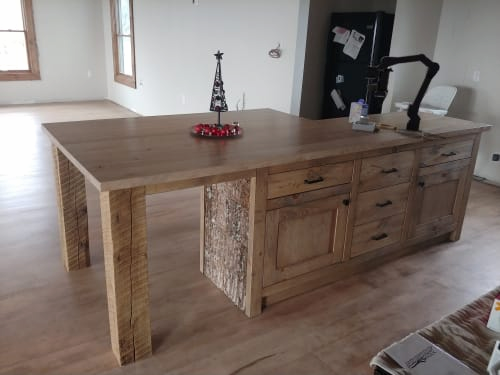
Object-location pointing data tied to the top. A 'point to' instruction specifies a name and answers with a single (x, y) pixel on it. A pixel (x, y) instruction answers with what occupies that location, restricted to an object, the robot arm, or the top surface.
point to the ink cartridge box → (358, 111)
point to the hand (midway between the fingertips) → (379, 107)
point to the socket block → (385, 126)
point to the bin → (363, 126)
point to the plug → (364, 120)
